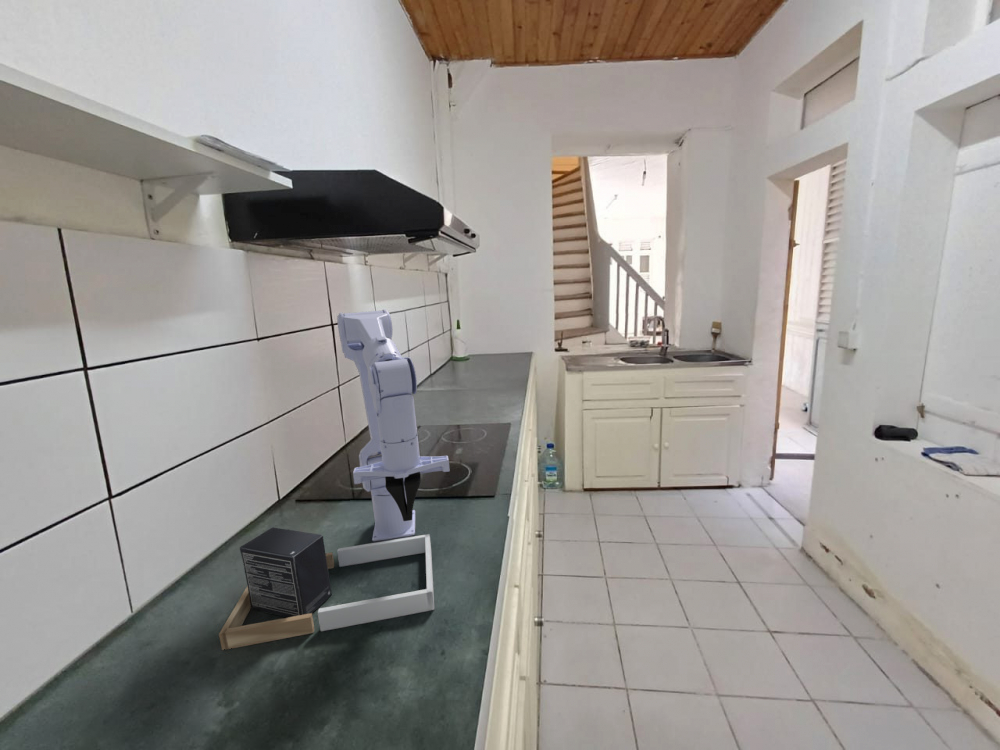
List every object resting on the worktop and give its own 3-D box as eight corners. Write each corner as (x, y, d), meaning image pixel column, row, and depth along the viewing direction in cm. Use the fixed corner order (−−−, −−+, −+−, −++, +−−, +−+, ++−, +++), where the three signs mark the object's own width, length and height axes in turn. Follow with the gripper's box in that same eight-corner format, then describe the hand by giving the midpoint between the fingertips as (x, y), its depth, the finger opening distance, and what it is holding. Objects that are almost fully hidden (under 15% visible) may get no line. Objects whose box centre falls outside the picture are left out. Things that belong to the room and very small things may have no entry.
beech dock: (263, 576, 72) (260, 563, 72) (334, 565, 74) (332, 552, 74) (222, 650, 57) (218, 634, 57) (313, 632, 59) (310, 617, 59)
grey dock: (340, 564, 74) (338, 548, 74) (431, 548, 77) (429, 533, 77) (320, 631, 59) (317, 612, 59) (434, 609, 62) (432, 591, 61)
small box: (335, 593, 67) (325, 532, 65) (304, 623, 61) (292, 558, 59) (283, 582, 71) (273, 524, 69) (249, 609, 65) (236, 547, 63)
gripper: (345, 452, 60) (357, 538, 63) (447, 439, 63) (455, 523, 65) (352, 436, 67) (363, 515, 70) (444, 425, 70) (451, 502, 72)
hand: (408, 517), depth 68 cm, fingers closed
